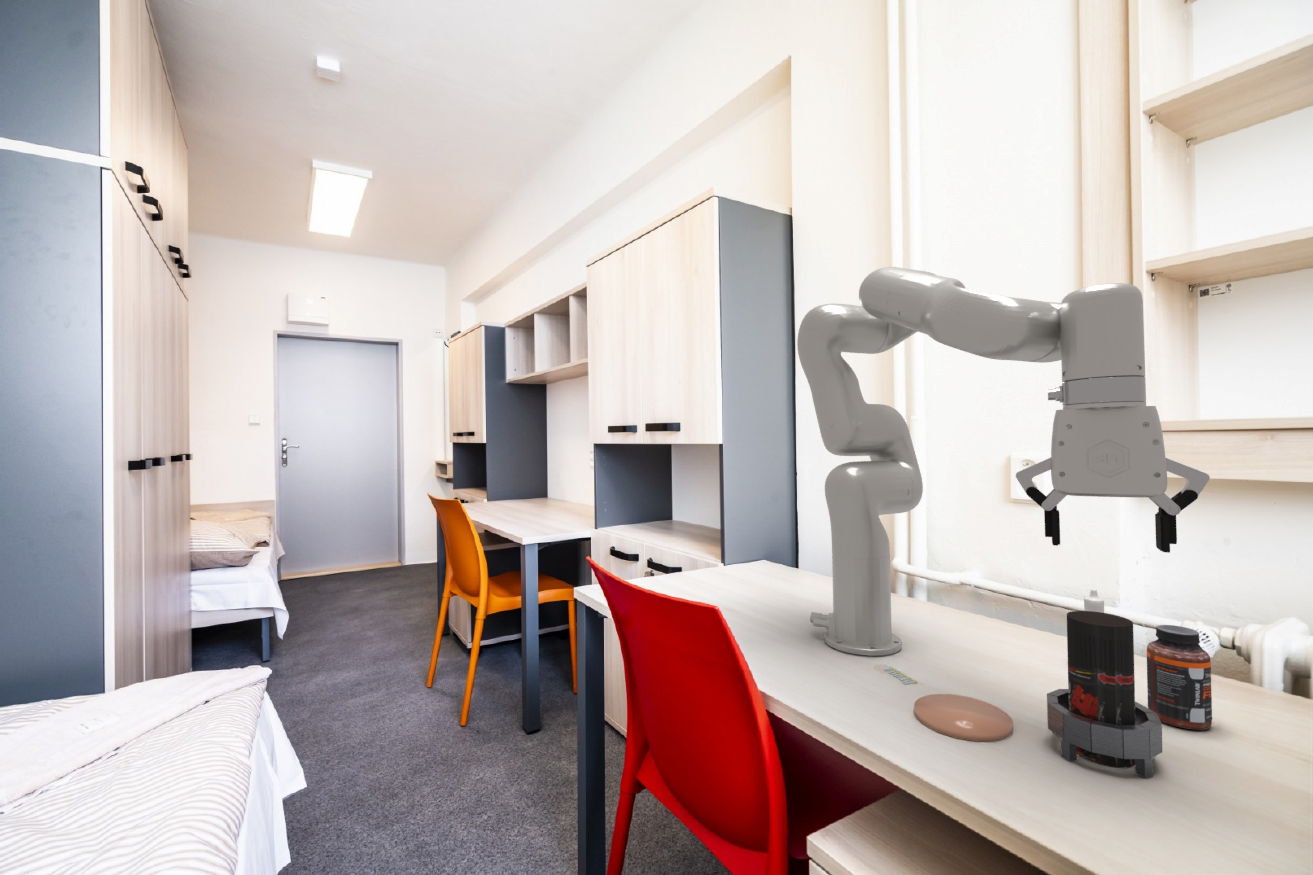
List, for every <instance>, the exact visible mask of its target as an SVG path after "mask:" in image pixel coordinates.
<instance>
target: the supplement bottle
mask: <svg viewBox="0 0 1313 875" xmlns="http://www.w3.org/2000/svg"><path fill="white" fill-rule="evenodd" d="M1155 628H1156V629H1155V636H1156V637H1157V639H1156V640H1153V641H1150V642H1149V643H1148V644H1147V646H1146V676H1147V677H1146V680H1147V681H1146V682H1147V683H1146V684H1147V708H1148V709H1150V710H1152V711H1153V712H1155V713H1156V714H1157V715H1158V717H1159V719H1160V721H1161V723H1164V724H1167V725H1170V726H1174V727H1175V728H1176V727H1177V728H1181V729H1186V730H1194V731H1203V730H1207V729H1209V728H1211V727H1212V725H1213V724H1212V721H1213V708H1212V707H1213V701H1212V700H1213V698H1212V666H1211V664H1212V663H1211V656H1210V654H1209V653H1208V652H1207V651H1206V650H1205V649H1203V648H1202V647H1201V645H1200V642H1201V640H1200V633H1199V632H1198V631H1197V630H1196V629H1192V628H1190V627H1185V626H1181V625H1174V624H1173V625H1171V624H1159V625H1156V627H1155Z"/></svg>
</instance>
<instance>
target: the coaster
mask: <svg viewBox="0 0 1313 875" xmlns="http://www.w3.org/2000/svg"><path fill="white" fill-rule="evenodd" d="M913 713H914V717H915V718H916V719H917V720H918V721H919V722H920V723H922V725H924V726H926V727H927V728H928V729H931V730H932V731H935V732H937V733H939V734H942V735H945V736H948V737H952V738H955V739H960V740H963V741H964V740H966V741H970V742H971V741H972V742H985V743H986V742H988V743H989V742H997V741H1003V740H1005V739H1008V738H1009V737H1010V736H1011V735H1012V734H1013V731H1014V723H1013V719H1012V716H1010V715H1009V714H1008V713H1007V712H1006V711H1004V710H1003V709H1001V708H1000V707H998V706H995V705H994V704H991V703H990V702H988V701H985V700H981V699H978V698H974V697H971V696H970V697H969V696H966V695H960V694H951V693H950V694H949V693H935V694H927V695H924V696H921V697H919V698H917V699H916V700H915V702H914V704H913Z"/></svg>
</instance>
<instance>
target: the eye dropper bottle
mask: <svg viewBox="0 0 1313 875" xmlns="http://www.w3.org/2000/svg"><path fill="white" fill-rule="evenodd" d="M1083 603H1084V604H1083V606H1084V607H1083V608H1084V609H1083V611H1093V612H1102V613H1105V600H1104V599H1103V598H1100V596H1099V594H1098V591H1097V589H1094V588H1093V589H1090V592H1089V595H1088V596H1086V597H1084V598H1083Z"/></svg>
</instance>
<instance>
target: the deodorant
mask: <svg viewBox="0 0 1313 875" xmlns="http://www.w3.org/2000/svg"><path fill="white" fill-rule="evenodd" d="M1066 638H1067V639H1066V641H1067V645H1066V646H1067V647H1066V649H1067V679H1068V680H1067V684H1068V688H1067V689H1068V693H1069V711H1070V712H1072V713H1074V714H1077V715H1080V716H1082V717H1085V718H1088V719H1091V720H1094V721H1099V722H1104V723H1110V724H1115V725H1136V723H1135V702H1136V694H1135V692H1136V691H1135V689H1136V688H1135V687H1136V686H1135V685H1136V684H1135V683H1136V682H1135V650H1134V649H1135V647H1134V644H1135V643H1134V622H1133V621H1132V620H1130V619H1128V618H1126V617H1124V616H1121V615H1116V614H1112V613H1108V612H1104V613H1102V612H1093V611H1084V610H1075V611H1074V610H1073V611H1068V612H1067V613H1066ZM1077 756H1079V757H1081V758H1083V759H1085V760H1087V761H1088V762H1089V761H1090V762H1092V763H1095V764H1097V765H1102V766H1105V767H1112V768H1131V767H1133V766H1134V767H1135V759H1121V758H1117V757H1112V756H1107V755H1103V754H1098V753H1093V752H1090V751H1088V750H1085V749H1083V748H1080V747H1078V746H1077Z"/></svg>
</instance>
